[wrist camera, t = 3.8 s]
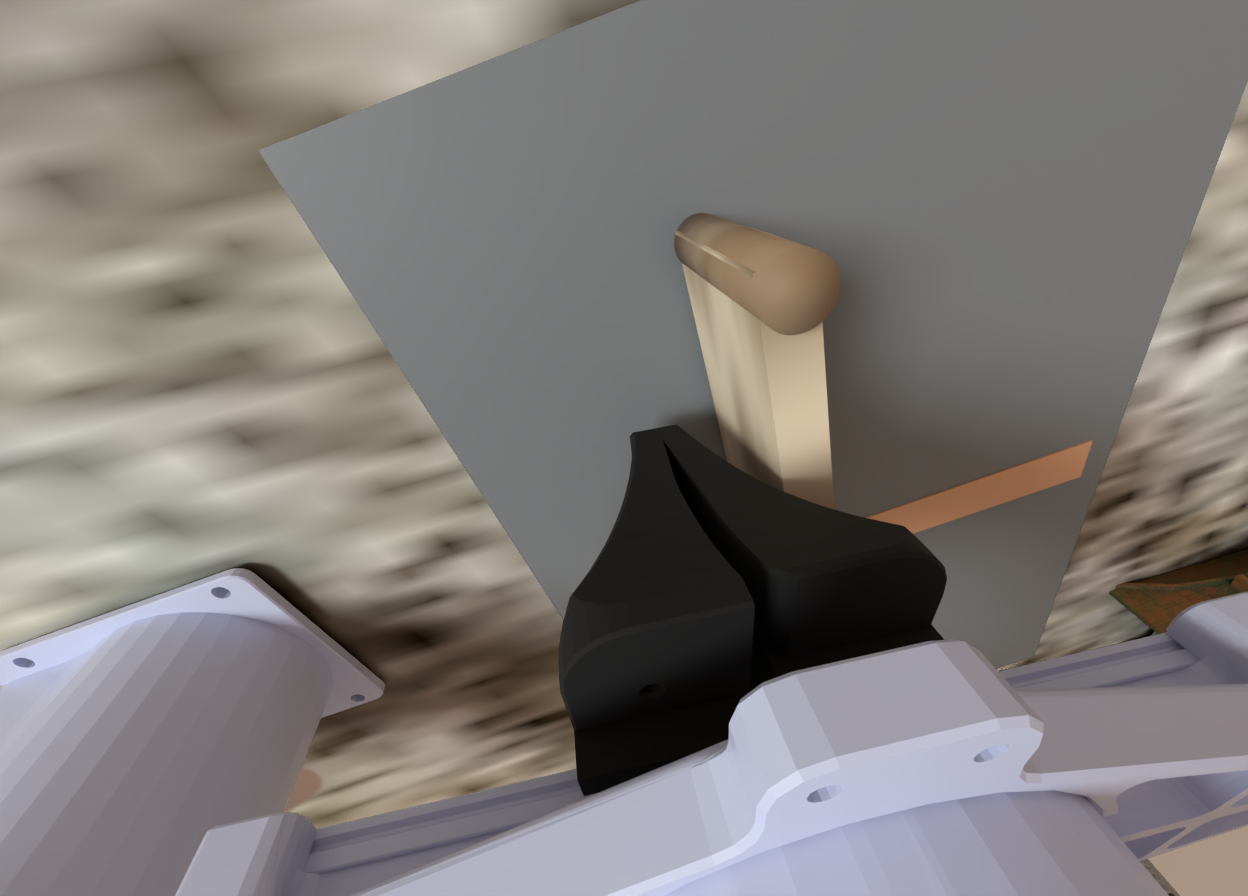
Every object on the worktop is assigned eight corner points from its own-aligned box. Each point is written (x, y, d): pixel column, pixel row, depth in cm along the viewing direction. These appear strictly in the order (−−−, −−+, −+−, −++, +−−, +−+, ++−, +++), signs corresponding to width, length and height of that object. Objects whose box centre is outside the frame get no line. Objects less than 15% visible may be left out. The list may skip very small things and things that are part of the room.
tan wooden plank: (778, 554, 17) (855, 681, 13) (748, 564, 17) (815, 695, 13) (718, 204, 10) (838, 236, 6) (668, 223, 10) (755, 267, 6)
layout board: (662, 765, 27) (691, 902, 22) (273, 151, 9) (-26, 143, 4) (1024, 646, 26) (1138, 761, 21) (1337, -267, 9) (2437, -852, 4)
